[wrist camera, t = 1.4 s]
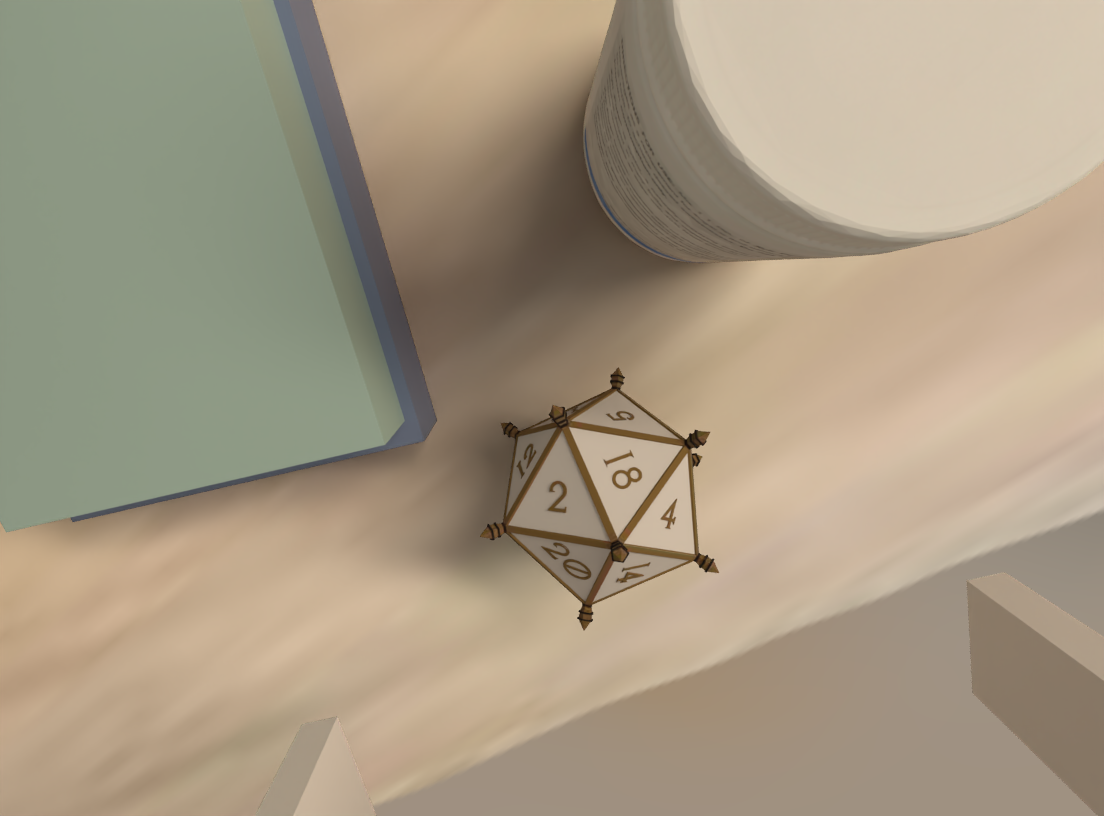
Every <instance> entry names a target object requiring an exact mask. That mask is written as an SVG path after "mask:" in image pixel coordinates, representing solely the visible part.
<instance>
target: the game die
mask: <svg viewBox="0 0 1104 816" xmlns="http://www.w3.org/2000/svg"><path fill="white" fill-rule="evenodd" d="M611 378H612V379H611V380H610V383H611V384H612V388H611V389H610V390H608V391H606V392H603V393H601V394H599V395H597V396H595V397H593V398H591V399H588V400H586V401H584V402H582V403H580V404H578V405H576V406H573V407H571V408H569V409H567V410H565V407H557V406H554V405H553V406H552V410H551V413H550V414H549V416H550V418H548V419H546V420H544V421H541V422H539V423H537V424H535V425H533V426H531V427H529V428H526V429H524V430H522V431H518V429H517V427H516V426H513V424H512V423H511V422H510V423H501V426H502V428H503V431H504V435H505V434H507V435H508V437H513V438H515V439H516V440H515V447H514V453H513V460H512V466H511V473H510V479H509V486H508V493H507V499H506V506H505V512H504V519H503V523H501V524H496V522H495V523H494V524H493V525H489V524H488V525H487V528H486V529H485V530H484V532H483V533H482V534H481V535H480V537H485V538H490V539H491V540H495V538H496V537H501V535H502V534H503V533H507V534H508V535H509V536H510V537H511V538H512V539H513V540H514V541H515V542H516V543H517V544H518V545H520V546H521V547H522V548H523V549H524V550H525V551H526V552H527V553H528V554H529V555H530V556H532V557H533V558H534V559H535V560H536V561H537V562H538V563H539V564H540V565H541V566H542V567H544V568H545V569H546V570H547V571H548V572H549V573H550V574H551V575H552V576H553V577H554V578H556V579H557V580H558V581H559V582H560V583H561V584H562V585H563V586H564V587H565V588H566V589H568V590H569V591H570V592H571V593H572V594H573V595H574V596H575V597H576V598H577V599H578V600H580V601H581V602H582V608H581V610H579V612H580V614H579V617H577V619H579V621H580V623H581V625H582V628H583V630H585V629H586V628H587V626H588V625H589V623H590V622H592V621H593V619H592V615H593V612H592V608H591V607H592V605H593V604H595V603H597V602H600V601H602V600H604V599H607V598H609V597H611V596H613V595H616V594H618V593H620V592H623V591H625V590H627V589H630V588H632V587H634V586H637V585H639V584H641V583H644V582H646V581H648V580H651V579H653V578H655V577H658V576H660V575H662V574H665V573H667V572H669V571H672V570H674V569H676V568H678V567H681V566H683V565H685V564H688V563H690V562H692V561H695V562H696V563H697V564H698V565H699V567H700V568H703V569H704V570H705V572H715V573H719V572H718V569H717V567H716V565H715V563H714V559H710V558H708V555H706V556H704V555H701V554H700V553H699V547H698V534H697V520H696V506H695V492H694V479H693V467H694V466H696V467H697V466H698V464H699V463H700V460H701V458H702V456H699V455H697V453H695V454H692V451H691V448H694V447H695V448H696V449H697V448H698V447H699V446H700V445H702V446H703V445H704V444H705V443H706V442H707V441H706V439H707V437H708V435H709V434H710V432H703V431H698V430H695V432H694V433H693V434H691V433H690V434H689V437H688V438H687V439H684V438H683V437H682V436H680V435H679V434H678V433H676V432H675V431H674V430H672V429H671V428H670V427H668V426H667V425H666V424H664V423H663V422H662V421H660V420H659V419H658V418H656V417H655V416H654V415H652V414H651V413H650V412H648V411H647V410H646V409H644V408H643V407H642V406H640V405H639V404H638V403H636V402H635V401H634V400H632V399H631V398H630V397H628V396H627V395H626V394H624V393H623V392H622V391H621V390H620V388H621V385H622V384H624V383H623V379H624V378H625V377H624V376H623V375H622V373H621V371H620V369H619V367H618V368H617V370H616V371H615V372H614V373H613V374H612V375H611Z"/></svg>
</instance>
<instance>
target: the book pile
mask: <svg viewBox="0 0 1104 816" xmlns="http://www.w3.org/2000/svg"><path fill="white" fill-rule="evenodd" d="M436 421H437V419H436V416H435V413H434V409H433V406H432V402H431V399H430V396H429V392H428V389H427V386H426V382H425V379H424V376H423V372H422V369H421V366H420V362H419V359H418V355H417V352H416V349H415V345H414V342H413V339H412V335H411V332H410V329H409V325H408V322H407V318H406V315H405V312H404V308H403V305H402V302H401V298H400V295H399V292H398V288H397V285H396V282H395V278H394V275H393V271H392V268H391V265H390V261H389V258H388V255H387V251H386V248H385V245H384V241H383V238H382V235H381V231H380V228H379V224H378V221H377V218H376V214H375V211H374V208H373V204H372V201H371V198H370V194H369V191H368V187H367V184H366V181H365V177H364V174H363V171H362V167H361V164H360V161H359V157H358V154H357V151H356V147H355V144H354V140H353V137H352V134H351V130H350V127H349V124H348V120H347V117H346V114H345V110H344V107H343V104H342V100H341V97H340V93H339V90H338V87H337V83H336V80H335V77H334V73H333V70H332V67H331V63H330V60H329V56H328V53H327V50H326V46H325V43H324V40H323V36H322V33H321V30H320V26H319V23H318V20H317V16H316V13H315V9H314V6H313V3H312V0H0V522H1V524H2V526H3V527H4V529H5V531H6V532H10V531H14V530H18V529H23V528H27V527H31V526H36V525H40V524H44V523H49V522H53V521H57V520H62V519H66V518H71V520H72V522H75V521H80V520H84V519H88V518H93V517H97V516H101V515H106V514H110V513H114V512H119V511H123V510H127V509H132V508H136V507H141V506H145V505H149V504H154V503H158V502H162V501H167V500H171V499H175V498H180V497H184V496H188V495H193V494H197V493H201V492H206V491H210V490H214V489H219V488H223V487H227V486H232V485H236V484H240V483H245V482H249V481H253V480H258V479H262V478H266V477H271V476H275V475H279V474H284V473H288V472H292V471H297V470H301V469H305V468H310V467H314V466H318V465H323V464H327V463H331V462H336V461H340V460H344V459H349V458H353V457H357V456H362V455H366V454H370V453H375V452H379V451H383V450H388V449H392V448H396V447H401V446H405V445H409V444H414V443H418V442H422V441H424V440H425V439H426V437H427V436H428V434H429V432H430V431H431V429H432V427H433V426H434V424H435V423H436Z"/></svg>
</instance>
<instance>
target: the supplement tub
mask: <svg viewBox="0 0 1104 816" xmlns="http://www.w3.org/2000/svg"><path fill="white" fill-rule="evenodd" d="M583 144H584V156H585V162H586V167H587V171H588V175H589V179H590V182H591V185H592V188H593V190H594V193H595V195H596V197H597V199H598V202H599V204H600V205H601V207H602V209H603V210H604V212H605V213H606V215H607V216H608V217H609V219H610V220H611V221H612V223H613V224H614V225H615V226H616V227H617V228H618V229H619V230H620V231H621V232H622V233H623V234H624V235H625V236H626V237H627V238H629V239H630V240H631V241H633V242H634V243H635V244H637V245H638V246H640V247H642V248H643V249H645V250H647V251H649V252H651V253H653V254H655V255H658V256H660V257H663V258H666V259H670V260H676V261H683V262H697V263H706V262H734V261H757V260H782V259H809V258H833V257H846V256H863V255H874V254H882V253H888V252H893V251H897V250H902V249H907V248H912V247H916V246H921V245H924V244H928V243H931V242H935V241H941V240H946V239H951V238H956V237H961V236H966V235H969V234H972V233H976V232H979V231H983V230H986V229H989V228H992V227H995V226H997V225H1000V224H1002V223H1005V222H1008V221H1010V220H1013V219H1015V218H1017V217H1019V216H1021V215H1024V214H1026V213H1028V212H1030V211H1032V210H1034V209H1036V208H1038V207H1040V206H1041V205H1043V204H1045V203H1047V202H1048V201H1050V200H1052V199H1054V198H1055V197H1057V196H1058V195H1060V194H1061V193H1063V192H1064V191H1066V190H1067V189H1069V188H1070V187H1071V186H1073V185H1074V184H1076V183H1077V182H1079V181H1080V180H1082V179H1083V178H1084V177H1086V176H1087V175H1088V174H1090V173H1091V172H1092V171H1093V170H1094V169H1095V168H1097V167H1098V166H1099V165H1100V164H1101V163H1102V162H1103V161H1104V0H616V4H615V7H614V11H613V14H612V18H611V21H610V25H609V28H608V31H607V35H606V38H605V41H604V45H603V48H602V51H601V55H600V59H599V62H598V66H597V70H596V73H595V77H594V80H593V84H592V87H591V90H590V93H589V97H588V101H587V106H586V111H585V118H584V130H583Z"/></svg>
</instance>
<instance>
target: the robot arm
mask: <svg viewBox="0 0 1104 816" xmlns="http://www.w3.org/2000/svg"><path fill="white" fill-rule="evenodd" d="M967 597H968V616H969V635H970V654H971V673H972V692H973V694H974V695H975V696H976V697H977V698H978V699H979V700H980V701H981V702H982V703H983V704H984V705H985V706H986V707H987V708H988V709H989V710H990V711H991V712H992V713H993V714H995V715H996V716H997V717H998V718H999V719H1000V720H1001V721H1002V722H1003V723H1004V724H1005V725H1006V726H1007V727H1008V728H1009V729H1010V730H1011V731H1012V732H1013V733H1014V734H1015V735H1016V736H1017V737H1018V738H1019V739H1020V740H1021V741H1022V742H1023V743H1024V744H1025V745H1026V746H1027V747H1028V748H1029V749H1030V750H1031V751H1032V752H1033V753H1034V754H1035V755H1036V756H1037V757H1038V758H1039V759H1040V760H1042V761H1043V762H1044V763H1045V765H1047V766H1048V767H1049V768H1050V769H1051V770H1052V771H1053V772H1054V773H1055V774H1056V775H1057V776H1058V777H1059V778H1060V779H1061V780H1062V781H1063V782H1064V783H1065V784H1066V785H1067V786H1068V787H1069V788H1070V789H1071V790H1072V791H1073V792H1074V793H1075V794H1076V795H1077V796H1078V797H1079V798H1080V799H1081V800H1082V801H1083V802H1084V803H1085V804H1086V805H1087V806H1088V807H1090V808H1091V810H1092V811H1093V812H1094V813H1096V814H1097V815H1098V816H1104V637H1103V636H1101V635H1100V634H1098V633H1097V632H1095V631H1094V630H1092V629H1091V628H1089V627H1088V626H1086V625H1085V624H1083V623H1082V622H1080V621H1079V620H1077V619H1075V618H1074V617H1072V616H1071V615H1069V614H1068V613H1066V612H1065V611H1063V610H1062V609H1060V608H1059V607H1057V606H1056V605H1054V604H1053V603H1051V602H1050V601H1048V600H1046V599H1045V598H1043V597H1042V596H1040V595H1039V594H1037V593H1036V592H1034V591H1033V590H1031V589H1029V588H1028V587H1027V586H1025V585H1023V584H1022V583H1020V582H1019V581H1017V580H1016V579H1014V578H1013V577H1011V576H1010V575H1008V574H1007V573H1005V572H1004V573H999V574H994V575H989V576H985V577H981V578H976V579H971V580H967ZM255 816H376V813H375V811H374V808H373V806H372V803H371V801H370V798H369V796H368V793H367V790H366V788H365V785H364V783H363V780H362V778H361V775H360V773H359V770H358V768H357V765H356V763H355V760H354V757H353V755H352V752H351V750H350V747H349V745H348V742H347V740H346V737H345V735H344V732H343V730H342V727H341V724H340V722H339V719H338V717H333V718H328V719H324V720H319V721H315V722H310V723H305V724H302V725H301V727H300V729H299V731H298V733H297V735H296V737H295V739H294V741H293V743H292V745H291V747H290V749H289V751H288V752H287V754H286V756H285V758H284V760H283V762H282V764H281V766H280V768H279V770H278V772H277V774H276V776H275V778H274V780H273V782H272V784H271V786H270V787H269V789H268V791H267V793H266V795H265V797H264V799H263V801H262V803H261V805H260V807H259V809H258V811H257V813H256V815H255Z"/></svg>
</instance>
